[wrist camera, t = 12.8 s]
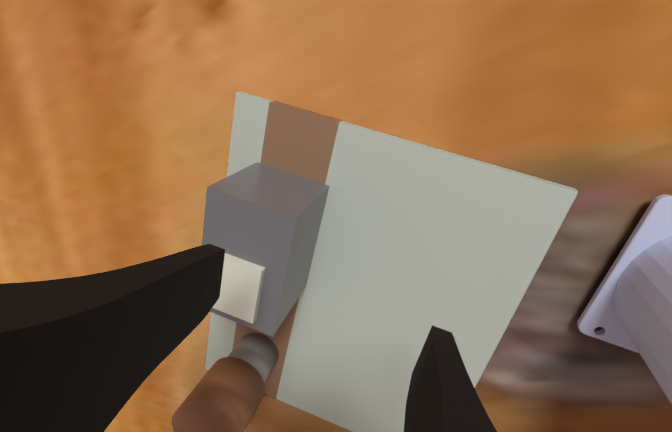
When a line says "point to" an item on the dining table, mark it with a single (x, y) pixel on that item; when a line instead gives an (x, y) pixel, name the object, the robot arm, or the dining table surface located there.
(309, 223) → the block
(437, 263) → the panel
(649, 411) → the dining table surface
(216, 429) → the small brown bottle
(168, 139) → the dining table surface
